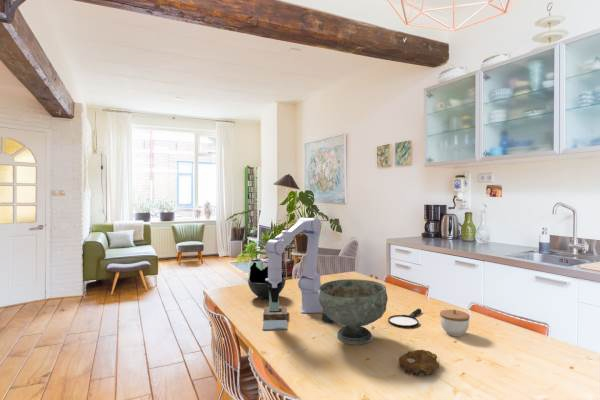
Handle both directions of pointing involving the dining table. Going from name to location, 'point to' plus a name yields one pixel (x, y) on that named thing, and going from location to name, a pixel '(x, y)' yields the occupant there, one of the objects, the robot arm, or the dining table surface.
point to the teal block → (273, 304)
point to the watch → (326, 318)
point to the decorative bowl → (353, 306)
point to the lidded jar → (454, 322)
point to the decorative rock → (419, 362)
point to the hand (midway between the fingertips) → (274, 300)
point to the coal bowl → (261, 281)
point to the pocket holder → (275, 314)
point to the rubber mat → (275, 325)
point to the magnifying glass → (405, 320)
